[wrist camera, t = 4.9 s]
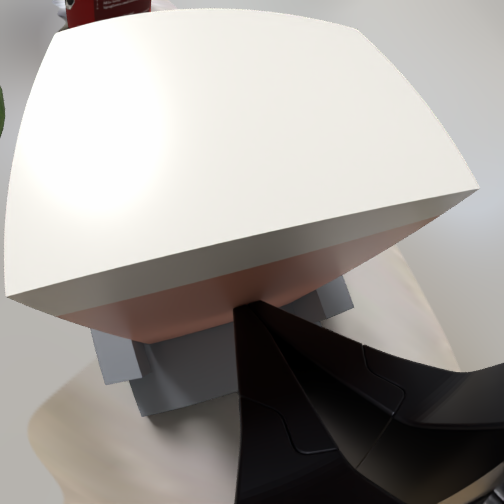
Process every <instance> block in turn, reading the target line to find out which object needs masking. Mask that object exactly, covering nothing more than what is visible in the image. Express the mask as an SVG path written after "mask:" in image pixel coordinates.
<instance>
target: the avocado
mask: <svg viewBox="0 0 504 504" xmlns="http://www.w3.org/2000/svg"><path fill="white" fill-rule="evenodd" d="M4 120H5V107H4V100H3V93H2V89H1V87H0V137H1V134H2V131H3V127H4Z"/></svg>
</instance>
